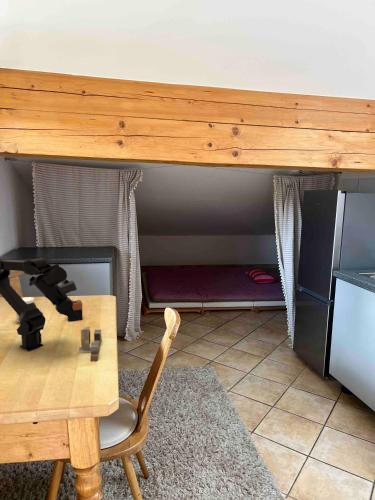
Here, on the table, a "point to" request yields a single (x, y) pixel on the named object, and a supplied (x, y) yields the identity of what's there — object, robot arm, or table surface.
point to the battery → (76, 310)
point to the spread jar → (30, 303)
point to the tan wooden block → (85, 338)
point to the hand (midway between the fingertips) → (75, 315)
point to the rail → (94, 346)
